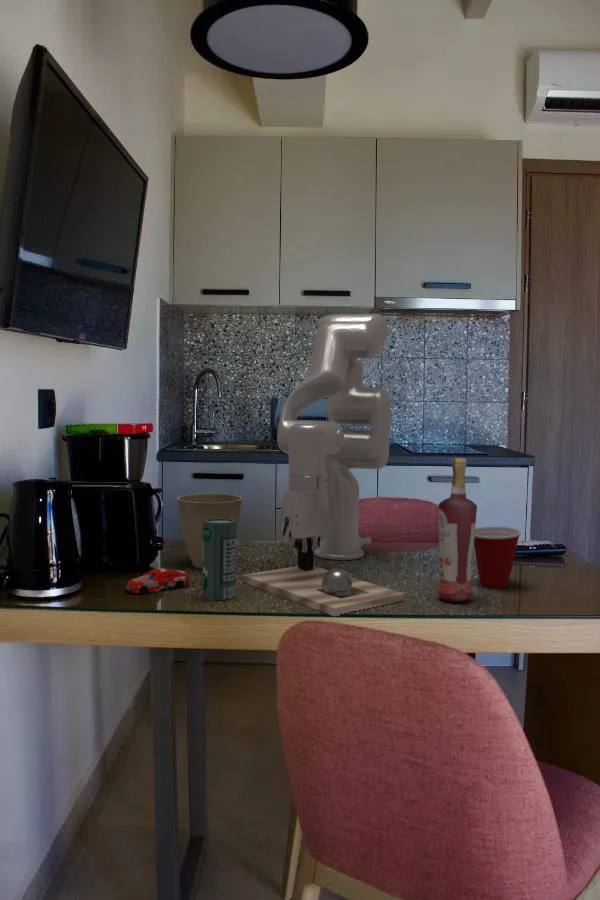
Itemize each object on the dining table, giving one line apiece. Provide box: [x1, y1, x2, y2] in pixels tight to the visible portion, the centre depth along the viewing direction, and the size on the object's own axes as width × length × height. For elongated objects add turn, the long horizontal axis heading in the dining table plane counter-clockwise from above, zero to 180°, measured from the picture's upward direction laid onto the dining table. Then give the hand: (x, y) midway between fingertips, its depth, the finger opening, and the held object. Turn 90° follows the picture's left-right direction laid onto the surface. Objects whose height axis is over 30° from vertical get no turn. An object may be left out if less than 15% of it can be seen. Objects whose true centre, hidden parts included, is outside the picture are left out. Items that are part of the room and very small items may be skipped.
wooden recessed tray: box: [241, 565, 405, 617], centre depth 147 cm, size 30×18×2 cm, turn 38°
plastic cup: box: [473, 525, 522, 589], centre depth 155 cm, size 11×11×12 cm
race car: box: [126, 568, 190, 596], centre depth 147 cm, size 13×5×4 cm, turn 126°
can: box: [202, 518, 237, 601], centre depth 142 cm, size 6×6×15 cm
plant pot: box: [176, 493, 243, 570], centre depth 168 cm, size 15×15×16 cm
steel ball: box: [322, 567, 352, 598], centre depth 141 cm, size 6×6×6 cm
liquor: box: [436, 457, 478, 604], centre depth 142 cm, size 7×7×28 cm
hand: (305, 569), depth 152 cm, fingers closed
